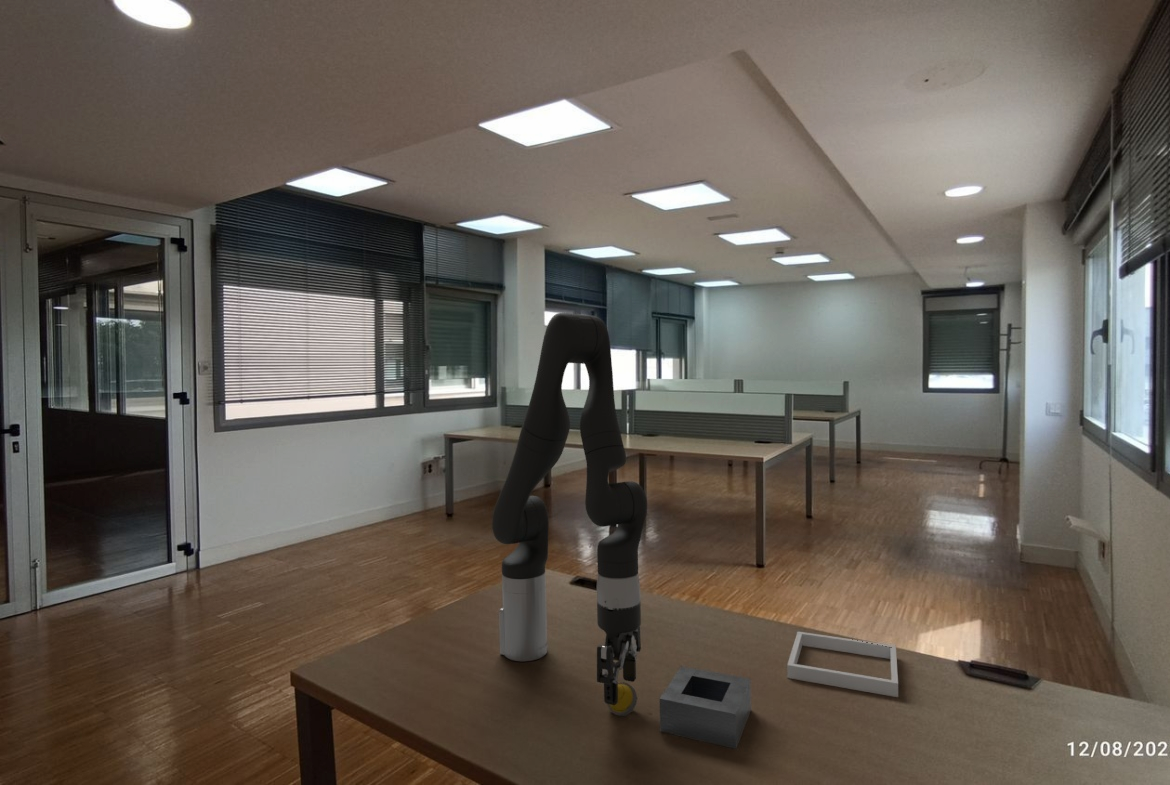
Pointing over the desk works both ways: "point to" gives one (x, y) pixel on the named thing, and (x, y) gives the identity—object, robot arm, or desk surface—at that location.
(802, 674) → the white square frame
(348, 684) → the desk surface
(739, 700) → the bit holder
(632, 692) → the drill bit
